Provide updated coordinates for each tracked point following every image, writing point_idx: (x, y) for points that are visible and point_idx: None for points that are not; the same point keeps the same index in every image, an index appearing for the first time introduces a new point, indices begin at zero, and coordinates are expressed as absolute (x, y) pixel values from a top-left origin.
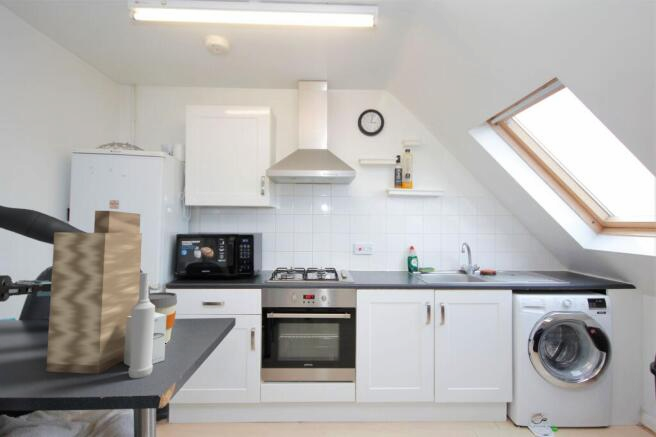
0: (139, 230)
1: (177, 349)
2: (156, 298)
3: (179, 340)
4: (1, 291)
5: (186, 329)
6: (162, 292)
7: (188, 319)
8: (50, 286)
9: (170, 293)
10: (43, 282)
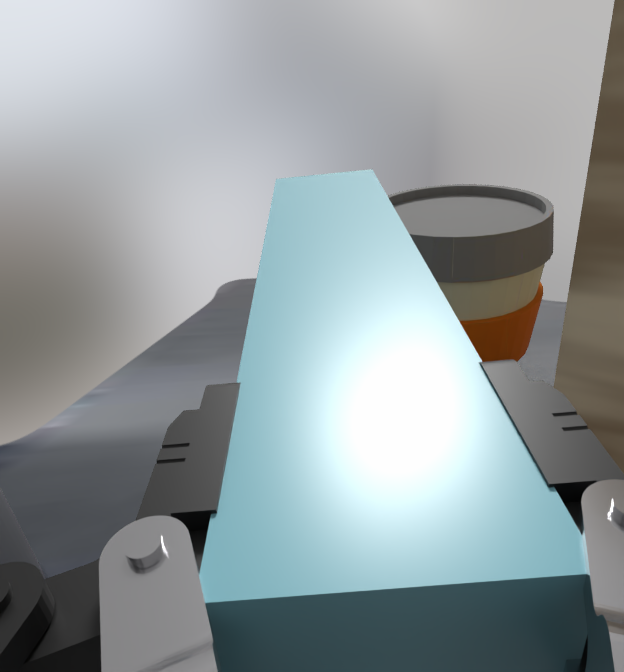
0: None
1: (539, 341)
2: (477, 214)
3: None
4: None
5: None
6: None
7: (166, 342)
8: (577, 433)
9: (394, 198)
10: (261, 574)
